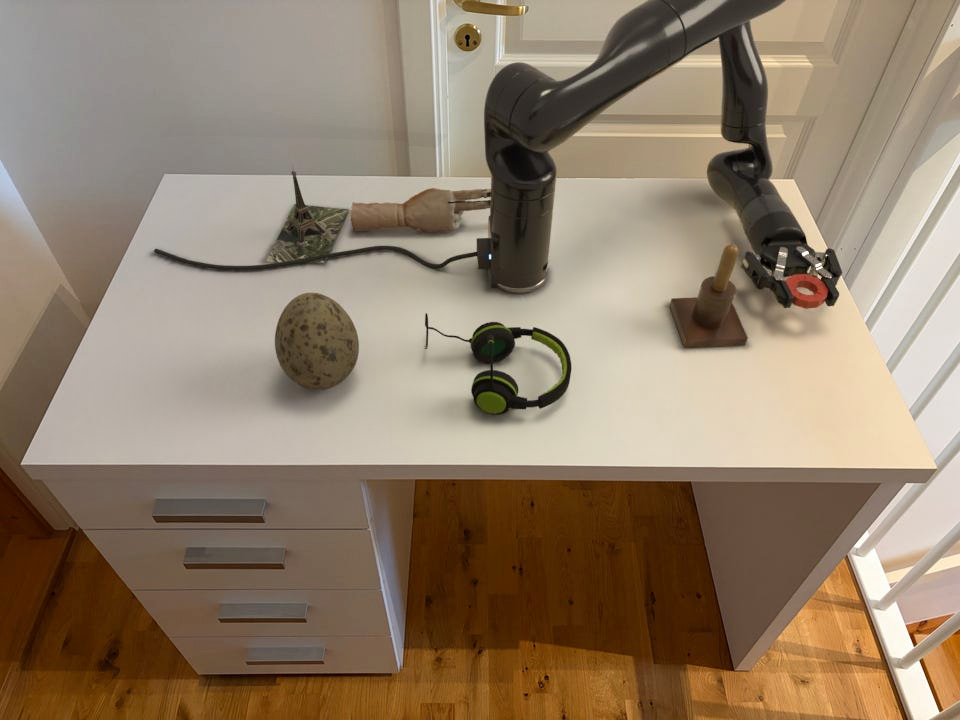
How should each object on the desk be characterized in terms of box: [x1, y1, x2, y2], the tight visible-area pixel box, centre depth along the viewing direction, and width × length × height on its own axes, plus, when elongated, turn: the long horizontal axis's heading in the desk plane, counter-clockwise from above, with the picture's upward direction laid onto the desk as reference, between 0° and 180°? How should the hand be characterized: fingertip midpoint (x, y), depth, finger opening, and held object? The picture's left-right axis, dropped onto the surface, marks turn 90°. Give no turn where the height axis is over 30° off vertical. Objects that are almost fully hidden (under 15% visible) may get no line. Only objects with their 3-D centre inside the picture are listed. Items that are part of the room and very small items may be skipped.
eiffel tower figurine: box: [265, 165, 350, 264], centre depth 117 cm, size 15×10×13 cm
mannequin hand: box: [349, 187, 491, 233], centre depth 121 cm, size 7×7×25 cm
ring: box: [785, 274, 828, 310], centre depth 105 cm, size 6×6×1 cm
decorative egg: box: [274, 292, 360, 391], centre depth 95 cm, size 11×11×15 cm
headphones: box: [423, 312, 572, 416], centre depth 98 cm, size 16×10×20 cm
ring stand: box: [669, 243, 749, 349], centre depth 103 cm, size 9×9×15 cm
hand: (811, 302), depth 103 cm, fingers closed on ring, 5 cm apart
